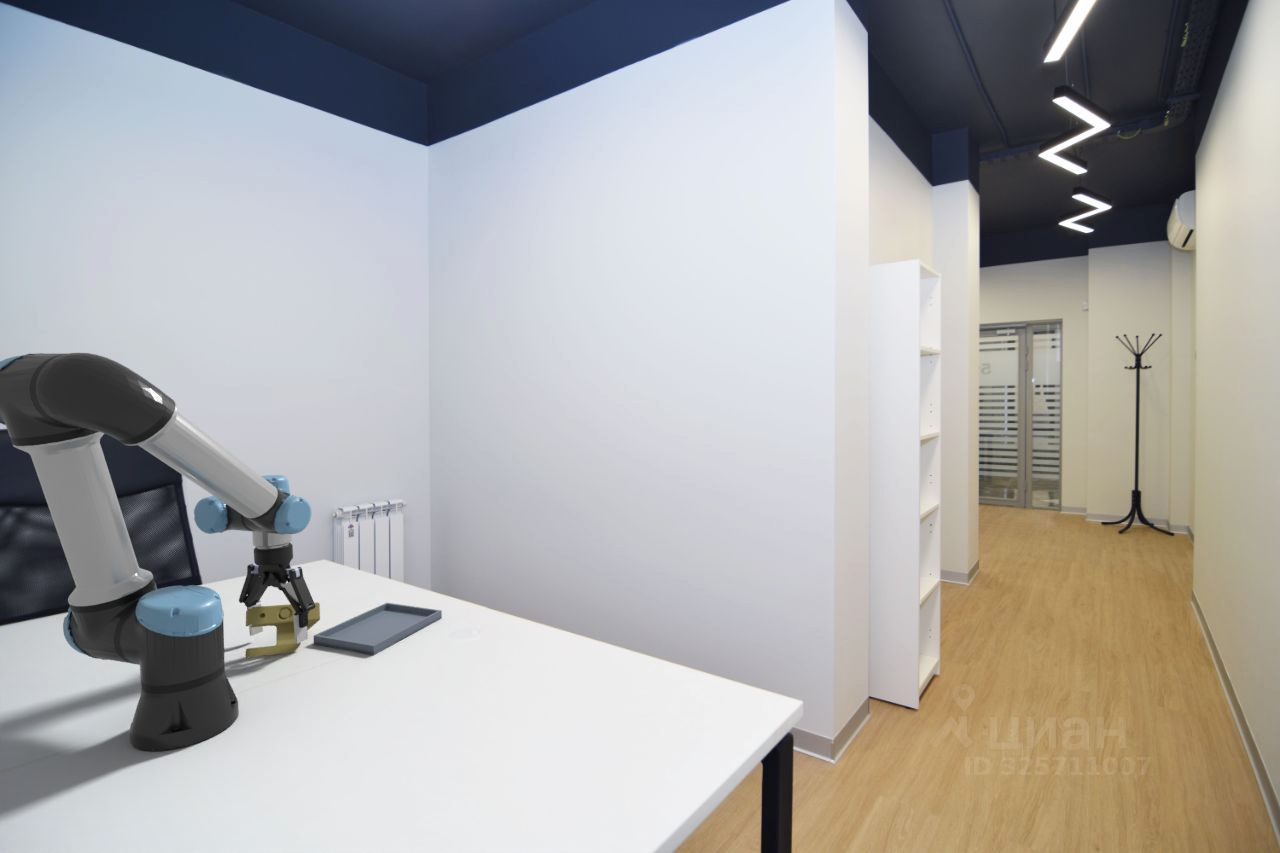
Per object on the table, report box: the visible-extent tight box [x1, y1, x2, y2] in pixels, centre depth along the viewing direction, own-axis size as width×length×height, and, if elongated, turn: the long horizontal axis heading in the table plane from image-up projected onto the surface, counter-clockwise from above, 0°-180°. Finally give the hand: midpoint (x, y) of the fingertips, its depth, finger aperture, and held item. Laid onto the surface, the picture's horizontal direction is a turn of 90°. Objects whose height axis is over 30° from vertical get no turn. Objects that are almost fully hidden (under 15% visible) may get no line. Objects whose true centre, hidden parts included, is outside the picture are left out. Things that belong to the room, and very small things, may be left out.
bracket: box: [245, 601, 321, 659], centre depth 142 cm, size 10×14×10 cm
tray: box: [313, 602, 443, 656], centre depth 151 cm, size 23×17×2 cm
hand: (278, 637), depth 142 cm, fingers open, 13 cm apart
